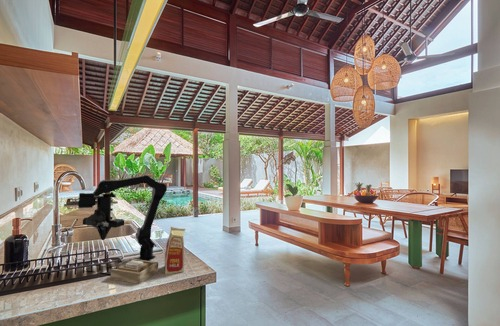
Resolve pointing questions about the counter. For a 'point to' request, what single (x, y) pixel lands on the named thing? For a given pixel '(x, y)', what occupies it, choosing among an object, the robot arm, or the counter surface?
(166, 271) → the milk carton
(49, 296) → the counter surface
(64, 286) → the counter surface
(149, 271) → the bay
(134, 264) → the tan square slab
